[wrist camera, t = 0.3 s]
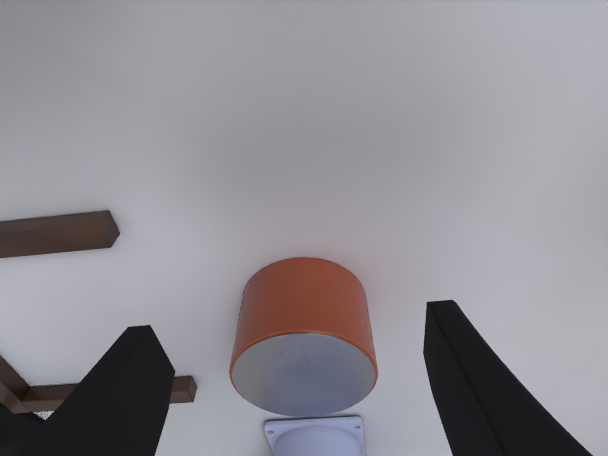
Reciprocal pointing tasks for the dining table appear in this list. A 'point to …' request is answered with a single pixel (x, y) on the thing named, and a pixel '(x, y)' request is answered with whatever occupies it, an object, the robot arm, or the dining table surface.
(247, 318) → the tin can
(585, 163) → the dining table surface
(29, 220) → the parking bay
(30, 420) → the wine glass
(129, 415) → the robot arm
